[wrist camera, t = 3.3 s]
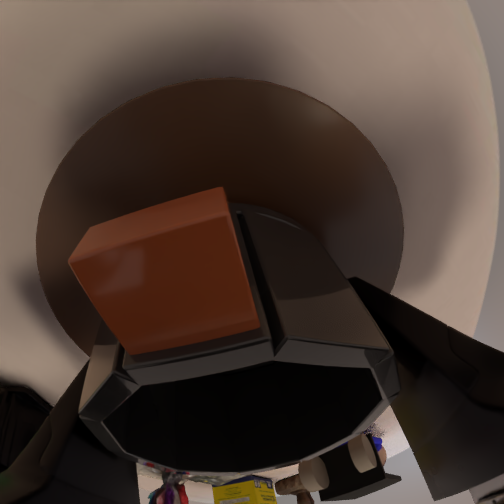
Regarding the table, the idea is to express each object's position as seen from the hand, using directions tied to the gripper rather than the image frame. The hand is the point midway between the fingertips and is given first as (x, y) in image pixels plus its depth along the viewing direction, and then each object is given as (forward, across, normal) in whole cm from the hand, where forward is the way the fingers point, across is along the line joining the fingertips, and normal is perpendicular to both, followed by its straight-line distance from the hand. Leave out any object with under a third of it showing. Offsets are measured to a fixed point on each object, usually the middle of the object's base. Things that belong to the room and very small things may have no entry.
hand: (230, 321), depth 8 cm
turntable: (+2, 0, 0) cm, 2 cm away
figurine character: (+2, -6, +24) cm, 25 cm away
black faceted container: (+1, 0, -1) cm, 1 cm away
